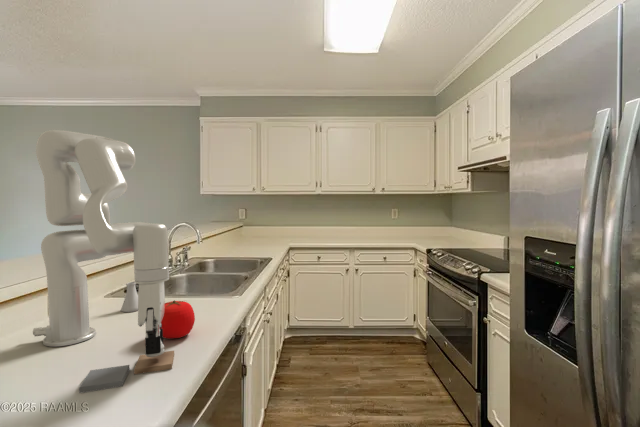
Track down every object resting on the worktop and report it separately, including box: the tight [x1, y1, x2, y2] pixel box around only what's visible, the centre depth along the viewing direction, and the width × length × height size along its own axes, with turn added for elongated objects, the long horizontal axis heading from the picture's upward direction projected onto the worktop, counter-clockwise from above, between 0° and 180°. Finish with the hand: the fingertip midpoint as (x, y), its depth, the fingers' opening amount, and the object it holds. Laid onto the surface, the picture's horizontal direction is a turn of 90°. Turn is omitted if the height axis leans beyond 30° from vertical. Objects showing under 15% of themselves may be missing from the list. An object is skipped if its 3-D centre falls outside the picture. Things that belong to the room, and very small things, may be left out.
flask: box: [120, 281, 138, 313], centre depth 132 cm, size 7×7×10 cm
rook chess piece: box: [144, 321, 166, 357], centre depth 87 cm, size 4×4×8 cm
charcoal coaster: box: [78, 364, 131, 394], centre depth 80 cm, size 8×8×1 cm
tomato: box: [160, 300, 196, 339], centre depth 105 cm, size 12×12×10 cm
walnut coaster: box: [133, 350, 175, 375], centre depth 87 cm, size 8×8×1 cm
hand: (154, 348), depth 87 cm, fingers closed on rook chess piece, 4 cm apart
